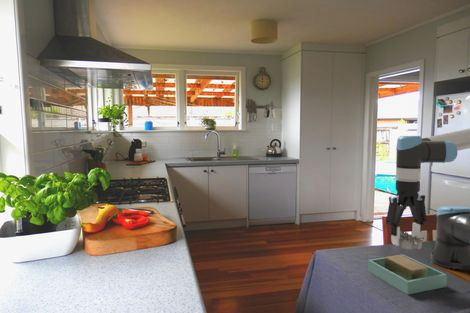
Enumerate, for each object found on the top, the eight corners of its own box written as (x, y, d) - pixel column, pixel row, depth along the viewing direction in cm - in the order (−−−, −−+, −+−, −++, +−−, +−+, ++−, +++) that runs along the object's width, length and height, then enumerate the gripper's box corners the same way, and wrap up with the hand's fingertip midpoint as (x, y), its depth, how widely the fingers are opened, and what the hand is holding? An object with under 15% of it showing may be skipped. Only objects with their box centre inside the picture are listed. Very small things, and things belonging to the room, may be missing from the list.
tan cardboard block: (399, 269, 121) (400, 254, 120) (427, 284, 109) (427, 267, 109) (384, 272, 119) (384, 256, 118) (410, 287, 107) (411, 270, 107)
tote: (402, 266, 125) (403, 254, 125) (446, 288, 107) (446, 274, 107) (367, 272, 120) (367, 259, 120) (407, 296, 103) (407, 282, 102)
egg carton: (425, 250, 107) (425, 238, 107) (403, 250, 107) (403, 238, 107) (408, 238, 118) (408, 228, 118) (388, 238, 118) (388, 228, 118)
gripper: (422, 176, 118) (420, 236, 119) (375, 180, 112) (373, 242, 113) (440, 179, 110) (438, 243, 112) (391, 183, 104) (389, 250, 106)
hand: (405, 242), depth 113 cm, fingers closed on egg carton, 8 cm apart
